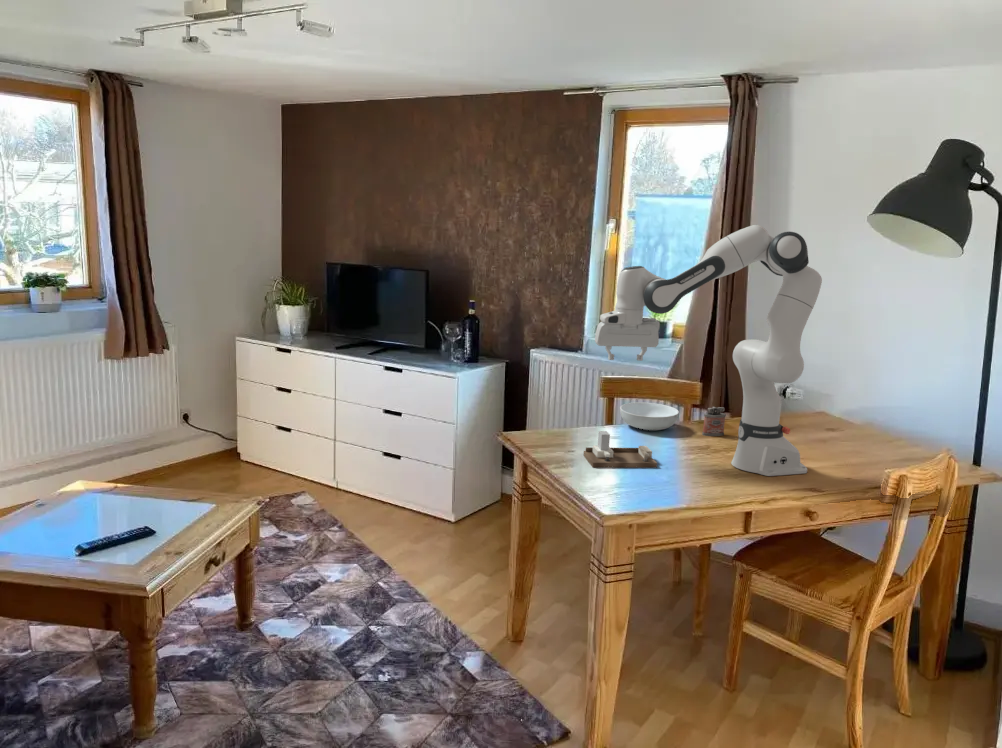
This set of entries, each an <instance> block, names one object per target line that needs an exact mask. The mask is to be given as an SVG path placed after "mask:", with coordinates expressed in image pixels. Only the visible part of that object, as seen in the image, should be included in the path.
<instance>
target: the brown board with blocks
mask: <svg viewBox="0 0 1002 748" xmlns="http://www.w3.org/2000/svg"><path fill="white" fill-rule="evenodd" d="M610 448H611V449H612V450H613V451H614V452H613V458H609V460H606V458H597V457H596V455H595V454H594V453H593V452H592V451H593V447H585V450H583V453H582V454H583V457H584V458H585V459H586V461H587V463H589V465H590V466H591V467H592V468H593V469H594V468H596V469H597V468H600V469H601V468H602V469H603V468H604V469H605V468H616V469H617V468H620V469H621V468H633V469H635V468H637V469H638V468H642V469H643V468H645V469H646V468H647V469H648V468H650V469H652V468H657V467H658V462H657V461H656V460H655V459H654V458H653V455H652V454H653V451H652V450H651V449H650V448H649V447H648V445H638V447H610Z"/></svg>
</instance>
